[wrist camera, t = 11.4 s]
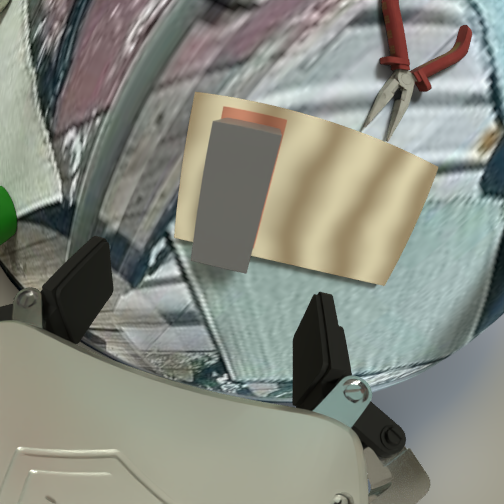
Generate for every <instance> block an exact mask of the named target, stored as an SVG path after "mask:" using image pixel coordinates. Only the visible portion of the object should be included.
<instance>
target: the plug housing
mask: <svg viewBox="0 0 504 504" xmlns="http://www.w3.org/2000/svg"><path fill="white" fill-rule="evenodd" d="M281 138H282V134H281V130H280V129H279V128H275V127H271V126H266V125H262V124H257V123H253V122H248V121H243V120H238V119H233V118H228V117H227V118H223V119H219V120H215V121H213V123H212V128H211V133H210V138H209V143H208V149H207V154H206V160H205V166H204V171H203V177H202V184H201V190H200V196H199V203H198V210H197V217H196V224H195V231H194V239H193V247H192V256H191V261H194V262H199V263H203V264H207V265H211V266H216V267H220V268H224V269H228V270H233V271H237V272H241V273H247V269H248V265H249V261H250V258H251V254H252V250H253V246H254V242H255V238H256V234H257V231H258V227H259V223H260V219H261V215H262V211H263V207H264V204H265V200H266V196H267V192H268V188H269V184H270V180H271V176H272V173H273V169H274V165H275V161H276V157H277V153H278V149H279V146H280V142H281Z"/></svg>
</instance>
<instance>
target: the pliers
mask: <svg viewBox="0 0 504 504" xmlns="http://www.w3.org/2000/svg"><path fill="white" fill-rule="evenodd" d="M382 11H383V16H384V21H385V26H386V31H387V37H388V43H389V50H390V56H386V57H382V58H380V64H384V65H391V70H394V71H395V72H394V73H393V74H392V75H391V77H390V78H389V79H388V81H387V82H386V83H385V84H384V86H383V87H382V88H381V90H380V91H379V93H378V96H377V98H376V100H375V102H374V105H373V107H372V109H371V111H370V113H369V116H368V118H367V120H366V122H365V124H364V127H366V126H367V125H368V124H369V123H370V122H371V121H372V119H373V118H374V117H375V116H376V115H377V114H378V113H379V112H380V111H381V110H382V108H383V107H384V106H385V105H386V104H387V103H388V102H389V100H390V99H391V98H392V97H393V96H394V93H395V91H396V90H397V89H399V90H400V91H401V94H402V96H401V99H399V100H396V99H395V102H394V106H393V110H392V115H391V120H390V125H389V129H388V134H387V138H386V141H387V142H388V141H389V139H390V137H391V136H392V134H393V132H394V131H395V129H396V127H397V126H398V124H399V122H400V120H401V119H402V117H403V115H404V113H405V112H406V110H407V108H408V105H409V103H410V99H411V96H412V92H413V88H414V84H416V86H417V87H418V89H419V91H423V92H427V91H429V90H430V89H431V88H432V87H431V84H430V82H429V80H428V79H427V78H428V77H430V76H432V75H434V74H436V73H438V72H440V71H441V70H443V69H445V68H447V67H449V66H451V65H453V64H455V63H457V62H459V61H460V60H461V59H462V58H463V57H464V56H465V55H466V54H467V52H468V49H469V45H470V42H471V37H472V31H471V29H470V28H469V27H468V26H467V25H463V26H461V27H460V29H459V32H458V36H457V39H456V42H455V45H454V46H453V48H452V49H451V50H450V51H449V52H447V53H445V54H443V55H441V56H439V57H437V58H435V59H433V60H431V61H429V62H427V63H425V64H423V65H421V66H419V67H417V68H415V69H413V70H411V71H408V70H410V67H409V65H410V63H409V59H408V52H407V45H406V39H405V33H404V28H403V23H402V18H401V13H400V9H399V0H382Z"/></svg>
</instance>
